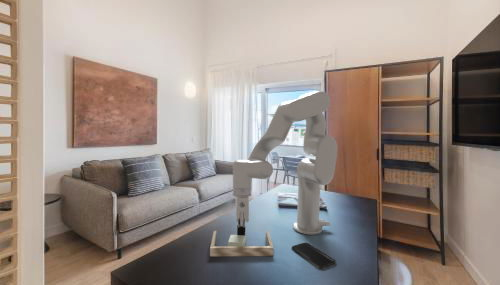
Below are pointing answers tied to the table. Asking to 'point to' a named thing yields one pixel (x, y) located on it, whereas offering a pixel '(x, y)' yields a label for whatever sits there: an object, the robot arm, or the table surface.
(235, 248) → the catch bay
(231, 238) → the sage tile
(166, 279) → the table surface
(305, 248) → the phone
